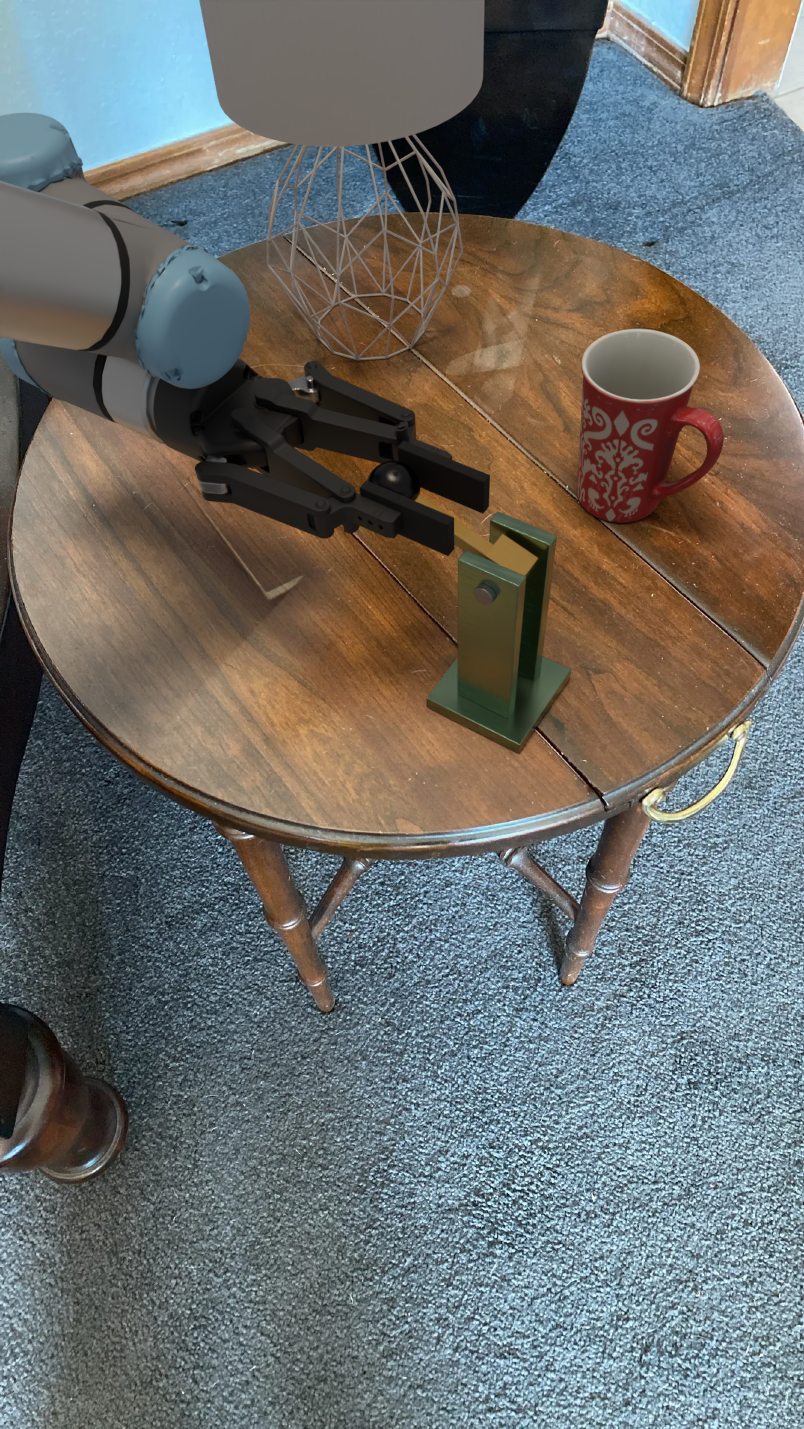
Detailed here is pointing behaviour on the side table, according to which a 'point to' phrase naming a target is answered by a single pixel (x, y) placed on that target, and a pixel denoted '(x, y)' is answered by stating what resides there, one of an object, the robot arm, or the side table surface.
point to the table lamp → (348, 103)
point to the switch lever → (502, 552)
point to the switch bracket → (502, 642)
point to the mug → (637, 422)
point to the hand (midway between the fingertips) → (468, 515)
